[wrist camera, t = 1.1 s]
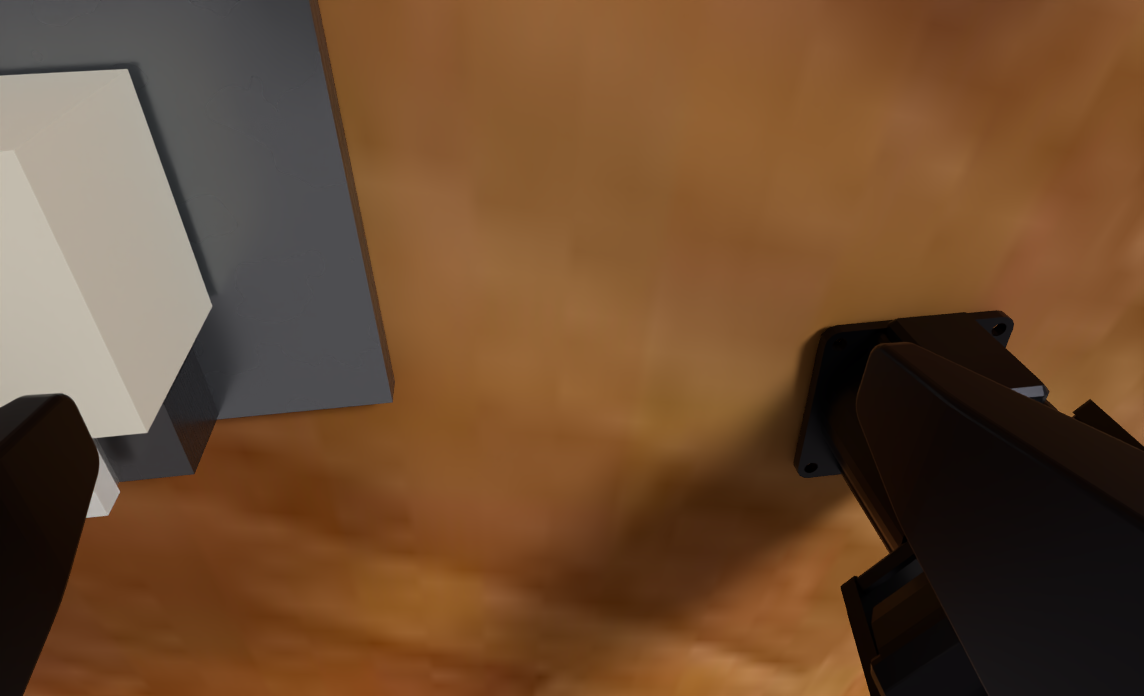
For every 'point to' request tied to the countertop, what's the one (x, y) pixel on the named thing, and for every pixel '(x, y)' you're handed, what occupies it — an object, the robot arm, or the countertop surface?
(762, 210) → the countertop surface
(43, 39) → the gauge bench
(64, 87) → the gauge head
